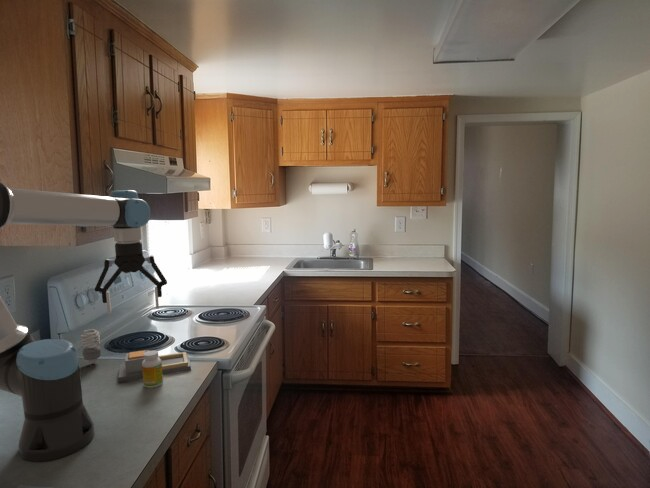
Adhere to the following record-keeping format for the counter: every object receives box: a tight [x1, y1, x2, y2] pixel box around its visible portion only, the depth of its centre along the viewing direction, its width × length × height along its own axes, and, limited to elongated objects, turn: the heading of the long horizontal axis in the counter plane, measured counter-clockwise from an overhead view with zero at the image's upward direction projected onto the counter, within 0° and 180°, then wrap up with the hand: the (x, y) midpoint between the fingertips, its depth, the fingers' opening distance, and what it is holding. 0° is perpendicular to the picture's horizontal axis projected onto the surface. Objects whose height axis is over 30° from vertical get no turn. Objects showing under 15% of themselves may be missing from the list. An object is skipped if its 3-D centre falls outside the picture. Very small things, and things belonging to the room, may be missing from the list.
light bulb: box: [80, 328, 102, 365], centre depth 150 cm, size 6×6×12 cm
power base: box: [117, 349, 192, 383], centre depth 145 cm, size 21×11×6 cm, turn 111°
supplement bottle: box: [142, 350, 164, 389], centre depth 134 cm, size 5×5×10 cm
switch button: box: [129, 349, 145, 360], centre depth 143 cm, size 5×5×4 cm
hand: (133, 310), depth 139 cm, fingers open, 13 cm apart
